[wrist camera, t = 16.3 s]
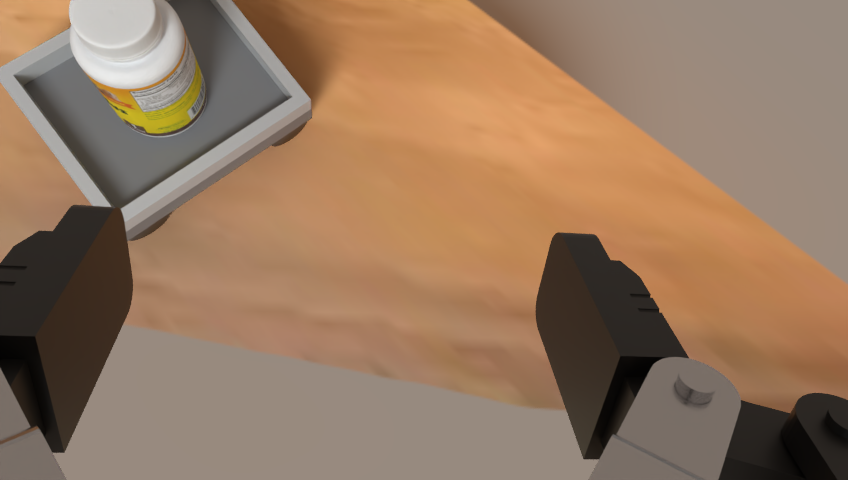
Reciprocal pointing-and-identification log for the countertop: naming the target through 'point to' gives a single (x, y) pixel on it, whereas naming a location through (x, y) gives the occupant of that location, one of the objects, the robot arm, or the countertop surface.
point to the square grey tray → (162, 156)
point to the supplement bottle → (139, 63)
